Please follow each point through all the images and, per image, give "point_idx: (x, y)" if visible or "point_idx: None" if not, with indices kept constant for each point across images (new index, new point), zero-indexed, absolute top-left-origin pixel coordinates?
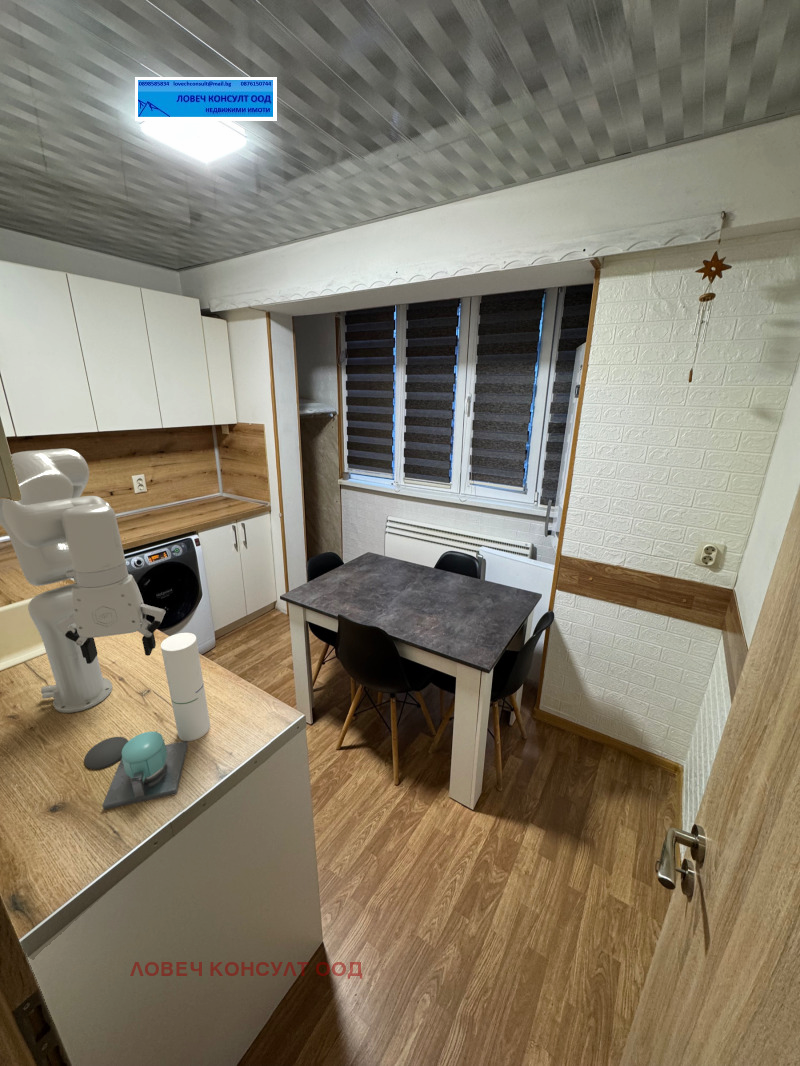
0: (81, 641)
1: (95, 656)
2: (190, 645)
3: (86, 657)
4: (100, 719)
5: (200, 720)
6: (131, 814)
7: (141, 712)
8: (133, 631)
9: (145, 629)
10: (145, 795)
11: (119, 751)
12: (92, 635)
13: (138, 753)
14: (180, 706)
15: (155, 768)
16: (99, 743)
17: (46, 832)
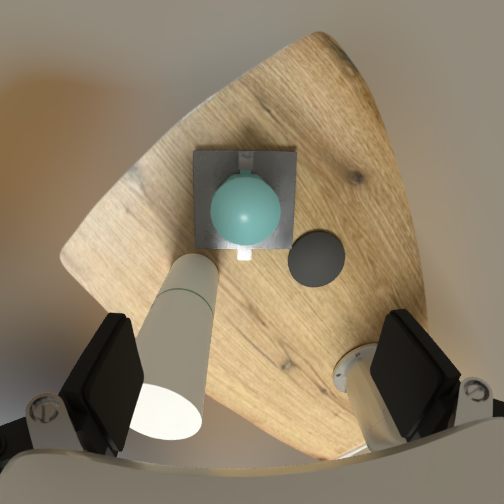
0: (469, 401)
1: (376, 354)
2: None
3: (418, 329)
4: (338, 326)
5: (170, 272)
6: (253, 132)
7: (285, 329)
8: (48, 451)
9: (35, 444)
10: (237, 151)
11: (299, 255)
12: (460, 447)
13: (248, 192)
14: (189, 287)
15: (224, 182)
16: (331, 279)
17: (355, 141)
